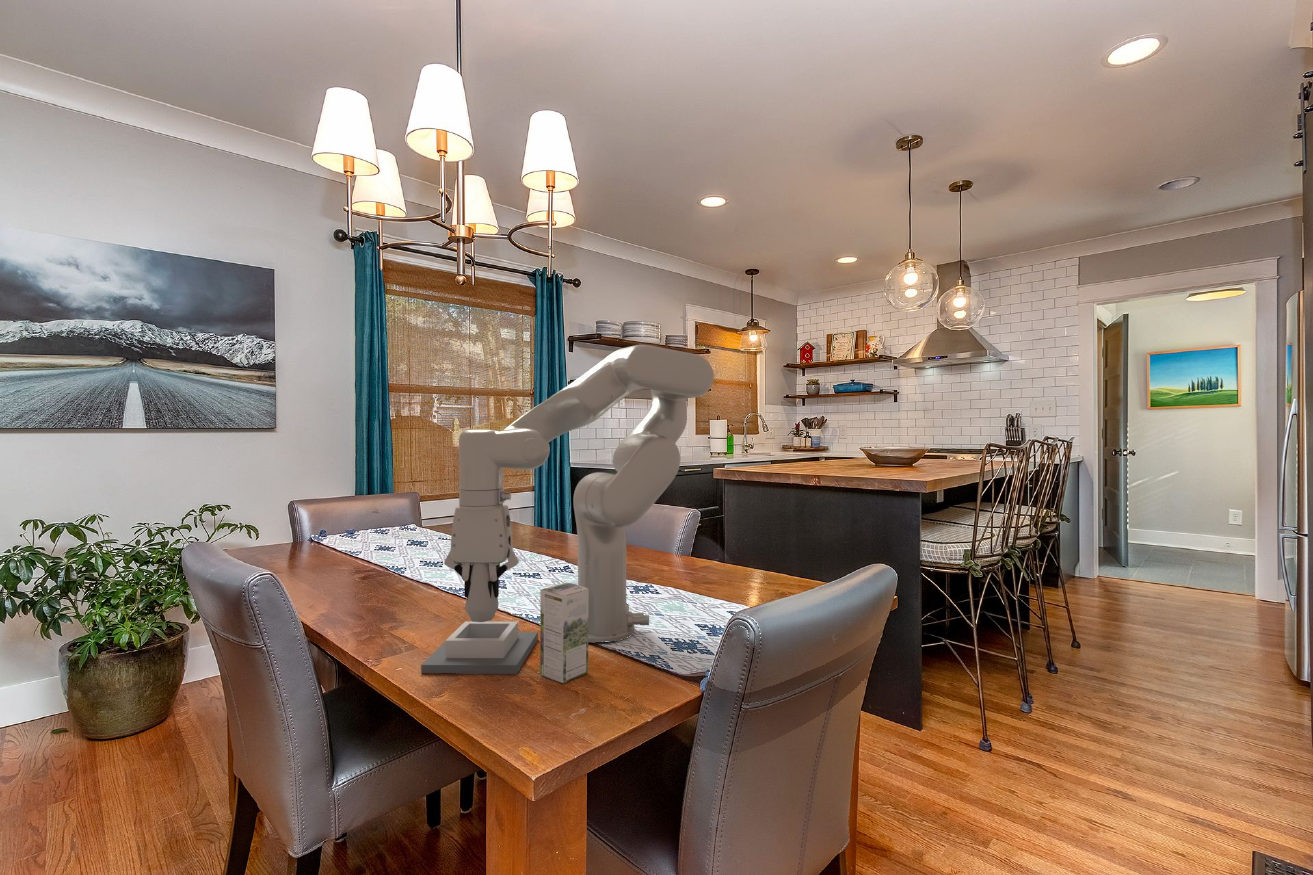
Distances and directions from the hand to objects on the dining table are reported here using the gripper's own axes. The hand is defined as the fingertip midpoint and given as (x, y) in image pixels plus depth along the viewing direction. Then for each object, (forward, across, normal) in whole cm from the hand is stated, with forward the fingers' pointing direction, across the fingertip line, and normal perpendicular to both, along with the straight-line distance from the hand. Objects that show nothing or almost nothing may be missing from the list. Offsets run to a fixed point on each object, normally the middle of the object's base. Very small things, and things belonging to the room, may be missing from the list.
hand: (481, 600), depth 109 cm
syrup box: (+10, -16, +8) cm, 21 cm away
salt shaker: (+3, 0, 0) cm, 3 cm away
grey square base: (+10, 0, 0) cm, 10 cm away
